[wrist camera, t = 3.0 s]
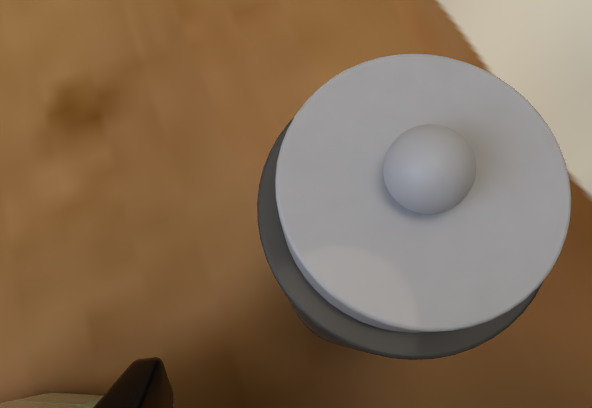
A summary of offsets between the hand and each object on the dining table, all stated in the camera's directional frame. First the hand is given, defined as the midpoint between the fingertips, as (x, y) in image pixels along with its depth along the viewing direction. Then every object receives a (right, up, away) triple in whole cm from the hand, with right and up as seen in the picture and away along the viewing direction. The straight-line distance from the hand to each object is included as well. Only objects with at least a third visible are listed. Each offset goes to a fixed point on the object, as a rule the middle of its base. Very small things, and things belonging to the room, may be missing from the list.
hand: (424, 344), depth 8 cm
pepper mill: (0, 0, +10) cm, 10 cm away
